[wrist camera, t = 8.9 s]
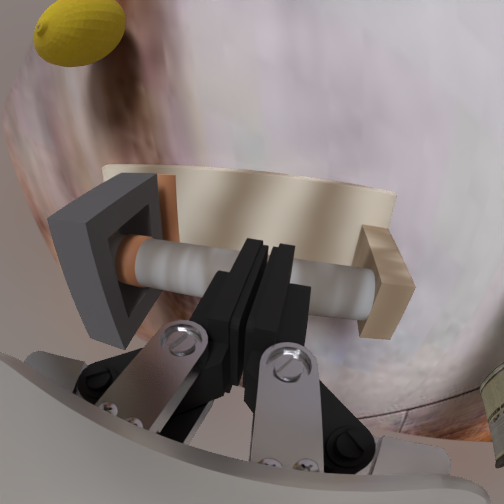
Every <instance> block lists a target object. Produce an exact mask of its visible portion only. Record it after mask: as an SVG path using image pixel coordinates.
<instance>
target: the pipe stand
mask: <svg viewBox="0 0 504 504" xmlns="http://www.w3.org/2000/svg"><path fill="white" fill-rule="evenodd" d="M102 171H103V179H104V182H105V181H107V180H109V179H111V178H112V177H114V176H116V175H118V174H120V173H157V181H158V195H159V206H160V217H161V227H162V236H163V240H159V239H154V238H152V237H149V236H142V235H135V234H128V235H123V234H119V233H118V230H117V231H116V232H115V233H113V234H112V235H111V236H110V237H109V238H108V243H109V248H110V252H111V257H112V261H113V265H114V269H115V273H116V277H117V280H118V281H120V282H122V283H124V284H129V285H133V286H138V287H143V288H144V287H150V288H155V289H160V290H165V291H170V292H175V293H180V294H185V295H190V296H195V297H201V298H202V297H203V295H204V293H205V291H206V290H207V288H208V286H209V284H210V283H211V281H212V279H213V277H214V276H215V274H216V272H217V271H219V270H220V271H226V272H230V270H231V268H232V266H233V264H234V262H235V260H236V258H237V257H238V255H239V253H240V251H241V249H242V247H243V245H244V243H245V241H246V239H247V238H251V239H257V240H263V245H268V246H269V249H268V260H269V257H270V254H271V251H272V248H273V246H275V247H279V244H280V243H282V244H288V245H294V246H295V253H294V260H293V266H292V273H291V279H290V283H293V284H299V285H305V286H311V295H310V304H309V313H308V314H309V315H317V316H325V317H333V318H342V319H351V320H357V322H358V330H359V337H361V338H373V339H387V340H390V339H391V337H392V335H393V333H394V331H395V329H396V327H397V325H398V323H399V322H400V320H401V318H402V316H403V314H404V311H405V309H406V307H407V305H408V303H409V301H410V299H411V297H412V295H413V292H414V290H415V288H416V287H415V284H414V282H413V280H412V277H411V275H410V273H409V271H408V269H407V266H406V264H405V262H404V260H403V258H402V256H401V254H400V251H399V249H398V247H397V245H396V243H395V241H394V239H393V237H392V235H391V233H390V231H389V229H388V227H389V223H390V220H391V216H392V212H393V208H394V205H395V201H396V197H397V196H396V194H395V193H394V192H392V191H387V190H382V189H377V188H372V187H366V186H361V185H355V184H350V183H344V182H337V181H331V180H325V179H318V178H311V177H304V176H296V175H288V174H280V173H271V172H262V171H252V170H241V169H230V168H216V167H201V166H182V165H152V164H107V165H105V166H103V167H102ZM268 260H267V262H268Z"/></svg>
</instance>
